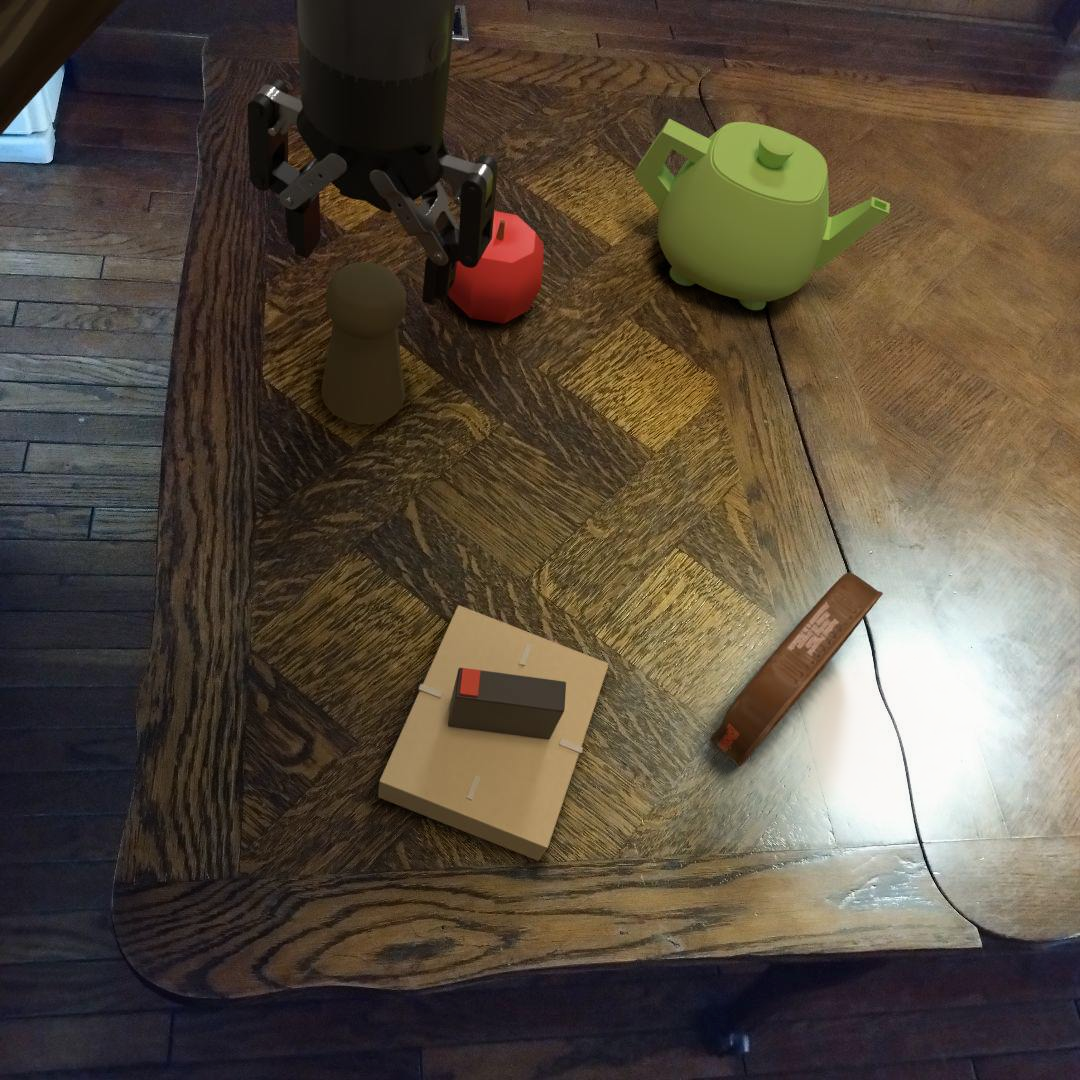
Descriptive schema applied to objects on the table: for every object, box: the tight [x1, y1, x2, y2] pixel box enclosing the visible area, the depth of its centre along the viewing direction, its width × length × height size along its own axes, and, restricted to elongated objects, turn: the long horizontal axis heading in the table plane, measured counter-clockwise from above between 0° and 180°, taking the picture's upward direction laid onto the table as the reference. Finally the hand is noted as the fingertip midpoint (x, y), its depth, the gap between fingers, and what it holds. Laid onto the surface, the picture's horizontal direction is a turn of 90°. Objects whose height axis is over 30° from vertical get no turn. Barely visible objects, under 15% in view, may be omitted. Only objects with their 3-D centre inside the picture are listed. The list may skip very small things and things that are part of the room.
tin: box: [710, 572, 884, 768], centre depth 61 cm, size 15×3×8 cm, turn 137°
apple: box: [448, 210, 545, 324], centre depth 75 cm, size 8×8×8 cm
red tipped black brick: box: [448, 668, 566, 739], centre depth 55 cm, size 6×2×5 cm, turn 86°
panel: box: [377, 604, 610, 861], centre depth 59 cm, size 12×10×3 cm
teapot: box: [633, 118, 891, 311], centre depth 80 cm, size 20×13×13 cm
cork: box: [320, 261, 408, 425], centre depth 67 cm, size 6×6×11 cm
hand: (370, 272), depth 62 cm, fingers open, 8 cm apart
